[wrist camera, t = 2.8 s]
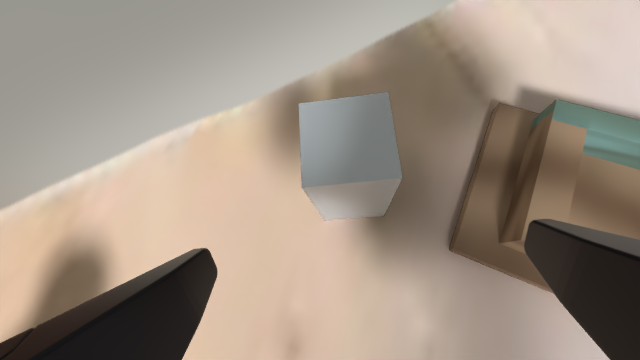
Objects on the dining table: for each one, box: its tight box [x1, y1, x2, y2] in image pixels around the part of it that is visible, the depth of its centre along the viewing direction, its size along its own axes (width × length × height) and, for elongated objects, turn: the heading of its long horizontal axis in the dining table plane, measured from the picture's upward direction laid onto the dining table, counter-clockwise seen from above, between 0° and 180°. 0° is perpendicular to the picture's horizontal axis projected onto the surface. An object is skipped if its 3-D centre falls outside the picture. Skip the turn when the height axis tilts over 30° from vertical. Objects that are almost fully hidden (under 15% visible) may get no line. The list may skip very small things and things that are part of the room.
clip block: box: [299, 92, 403, 221], centre depth 17 cm, size 4×4×9 cm
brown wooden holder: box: [449, 100, 640, 293], centre depth 17 cm, size 12×16×4 cm
